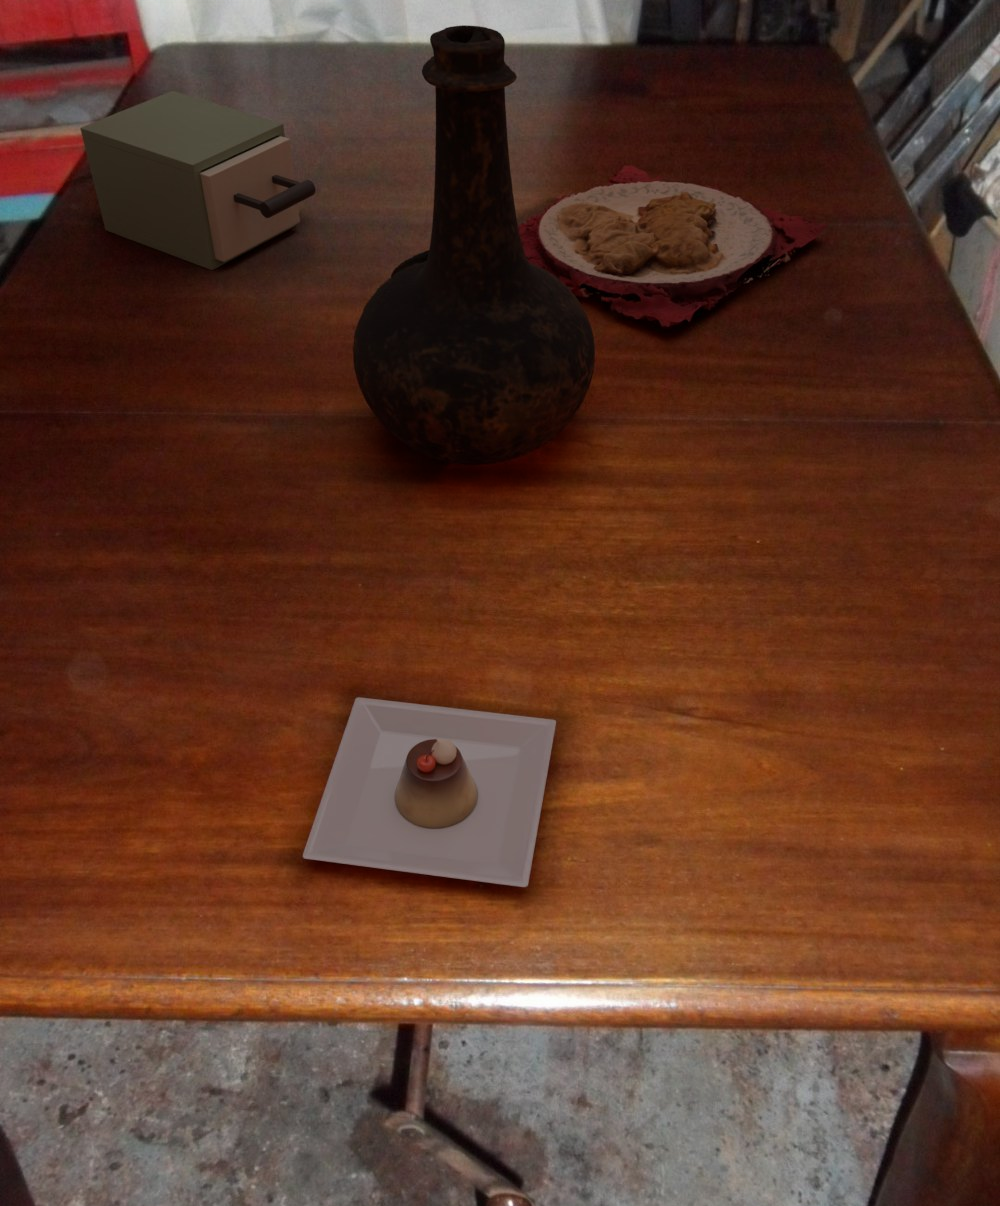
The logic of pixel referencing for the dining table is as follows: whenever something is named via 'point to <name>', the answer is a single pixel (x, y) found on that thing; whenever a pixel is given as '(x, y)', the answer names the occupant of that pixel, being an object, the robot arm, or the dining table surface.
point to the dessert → (435, 792)
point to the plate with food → (659, 243)
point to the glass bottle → (473, 292)
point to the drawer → (252, 197)
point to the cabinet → (167, 169)
